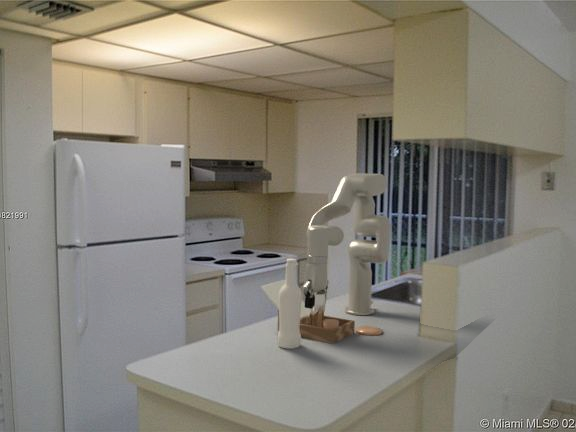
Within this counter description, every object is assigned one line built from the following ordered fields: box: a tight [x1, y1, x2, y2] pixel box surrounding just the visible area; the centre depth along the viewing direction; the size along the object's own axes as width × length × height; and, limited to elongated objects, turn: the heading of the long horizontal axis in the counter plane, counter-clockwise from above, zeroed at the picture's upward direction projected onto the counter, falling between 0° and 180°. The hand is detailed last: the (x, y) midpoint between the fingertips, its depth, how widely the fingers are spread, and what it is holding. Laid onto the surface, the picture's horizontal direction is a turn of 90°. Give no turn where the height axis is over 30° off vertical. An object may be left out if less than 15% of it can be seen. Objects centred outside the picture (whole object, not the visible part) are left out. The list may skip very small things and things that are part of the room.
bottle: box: [276, 258, 303, 350], centre depth 186 cm, size 8×8×30 cm
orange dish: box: [355, 325, 383, 337], centre depth 207 cm, size 10×10×1 cm
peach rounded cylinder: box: [323, 319, 339, 330], centre depth 199 cm, size 6×6×6 cm
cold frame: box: [299, 315, 356, 344], centre depth 203 cm, size 17×18×4 cm
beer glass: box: [307, 291, 327, 328], centre depth 204 cm, size 7×7×15 cm
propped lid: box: [259, 279, 308, 332], centre depth 211 cm, size 17×14×16 cm
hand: (315, 305), depth 203 cm, fingers open, 9 cm apart
